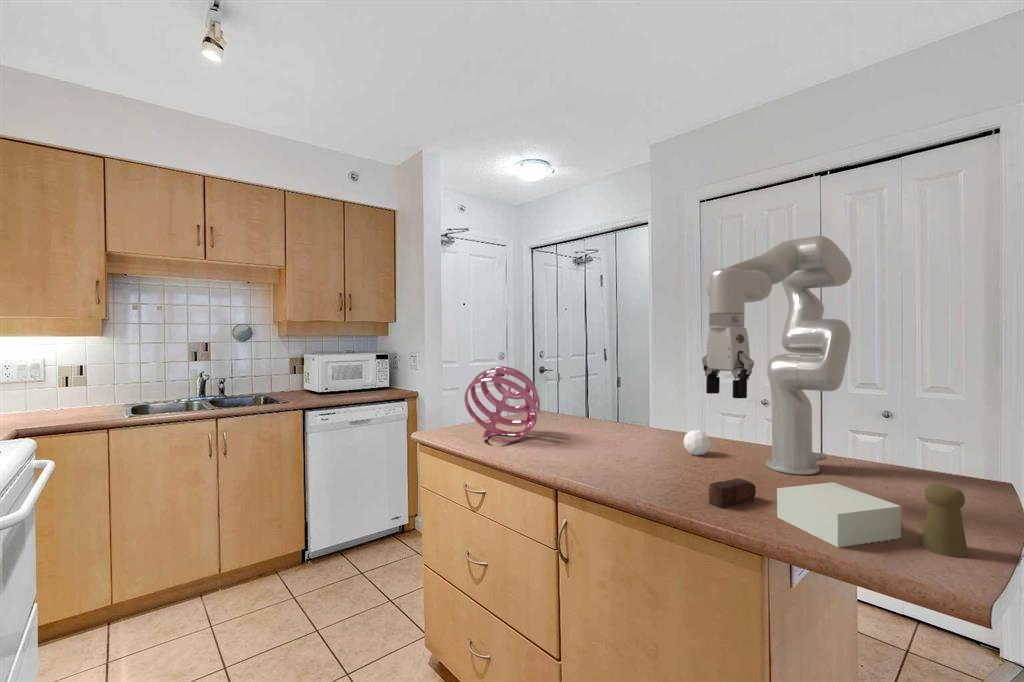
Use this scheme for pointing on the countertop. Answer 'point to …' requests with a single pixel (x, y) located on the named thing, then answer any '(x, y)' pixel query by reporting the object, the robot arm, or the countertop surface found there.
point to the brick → (731, 493)
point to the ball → (697, 442)
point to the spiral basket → (504, 402)
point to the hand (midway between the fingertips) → (725, 395)
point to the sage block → (839, 514)
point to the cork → (944, 521)
